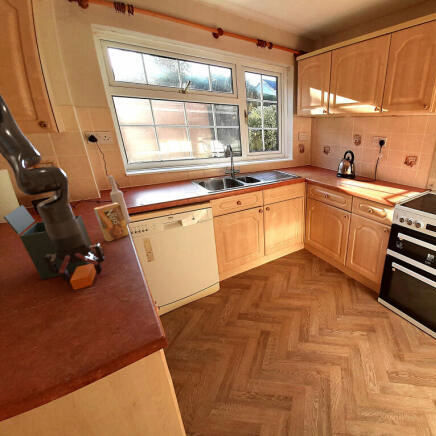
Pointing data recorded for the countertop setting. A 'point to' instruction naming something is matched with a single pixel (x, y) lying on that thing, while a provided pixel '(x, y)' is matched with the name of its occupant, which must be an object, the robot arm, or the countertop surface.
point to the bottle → (119, 199)
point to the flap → (19, 219)
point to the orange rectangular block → (83, 276)
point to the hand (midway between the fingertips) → (84, 276)
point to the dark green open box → (48, 248)
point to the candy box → (111, 221)
